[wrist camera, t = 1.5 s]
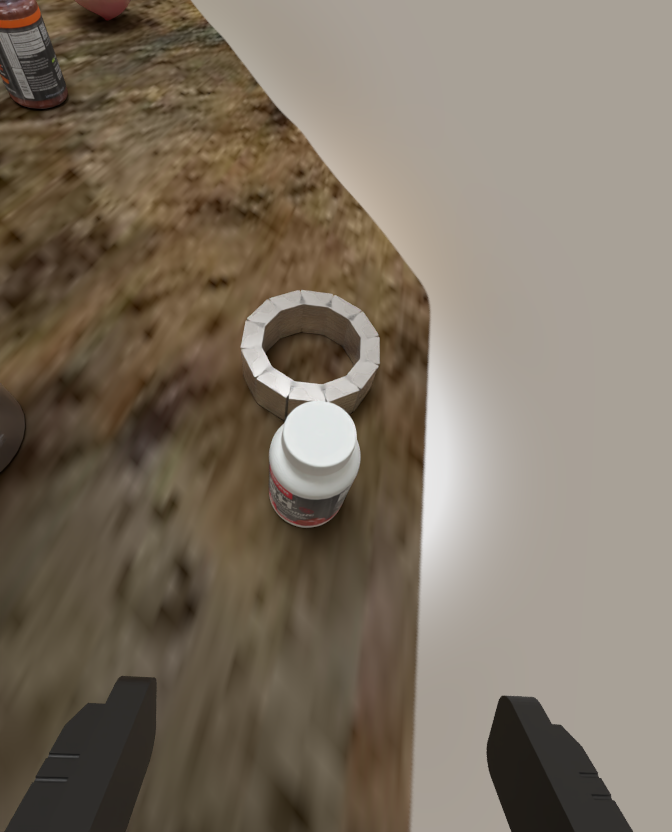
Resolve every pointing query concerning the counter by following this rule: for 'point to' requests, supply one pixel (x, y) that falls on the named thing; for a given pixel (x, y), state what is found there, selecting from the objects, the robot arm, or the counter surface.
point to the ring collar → (317, 318)
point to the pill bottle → (312, 463)
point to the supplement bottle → (28, 57)
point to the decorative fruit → (105, 7)
